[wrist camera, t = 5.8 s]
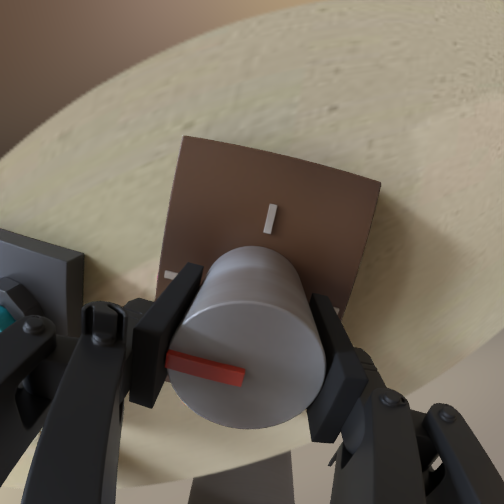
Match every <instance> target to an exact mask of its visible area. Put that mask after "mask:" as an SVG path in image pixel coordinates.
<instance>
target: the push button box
mask: <svg viewBox="0 0 504 504" xmlns="http://www.w3.org/2000/svg"><path fill="white" fill-rule="evenodd" d="M83 268H84V253H81V252H78V251H74V250H71V249H67V248H64V247H60V246H57V245H53V244H50V243H46V242H43V241H40V240H36V239H33V238H30V237H26V236H23V235H20V234H16V233H13V232H10V231H7V230H4V229H0V306H3V307H4V308H6V310H7V311H8V312H9V313H10V314H11V315H12V317H13V318H14V319H15V320H16V321H17V320H18V319H20V318H23V317H25V316H31V315H35V316H36V315H39V316H42V317H46V318H48V319H50V320H51V321H53V323H54V324H55V326H56V334H57V335H63V336H68V337H76V338H80V336H81V308H82V307H83Z"/></svg>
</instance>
